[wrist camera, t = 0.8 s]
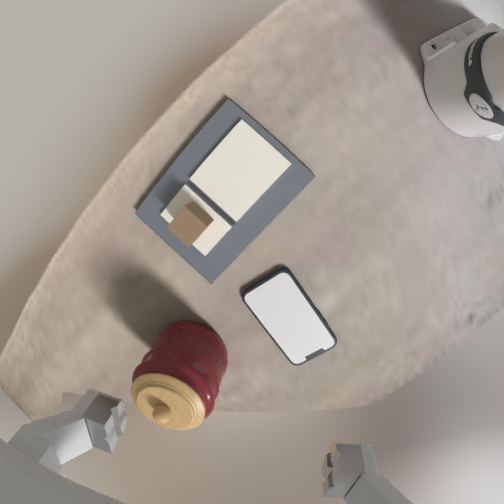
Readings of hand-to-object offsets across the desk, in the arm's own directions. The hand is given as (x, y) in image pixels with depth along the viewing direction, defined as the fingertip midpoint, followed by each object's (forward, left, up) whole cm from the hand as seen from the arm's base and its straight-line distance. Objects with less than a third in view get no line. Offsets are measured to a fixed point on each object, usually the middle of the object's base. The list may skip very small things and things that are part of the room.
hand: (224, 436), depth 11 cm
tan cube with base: (+7, -9, -36) cm, 38 cm away
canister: (+26, +5, -38) cm, 46 cm away
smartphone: (+9, +12, -38) cm, 41 cm away
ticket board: (+2, -9, -37) cm, 38 cm away
